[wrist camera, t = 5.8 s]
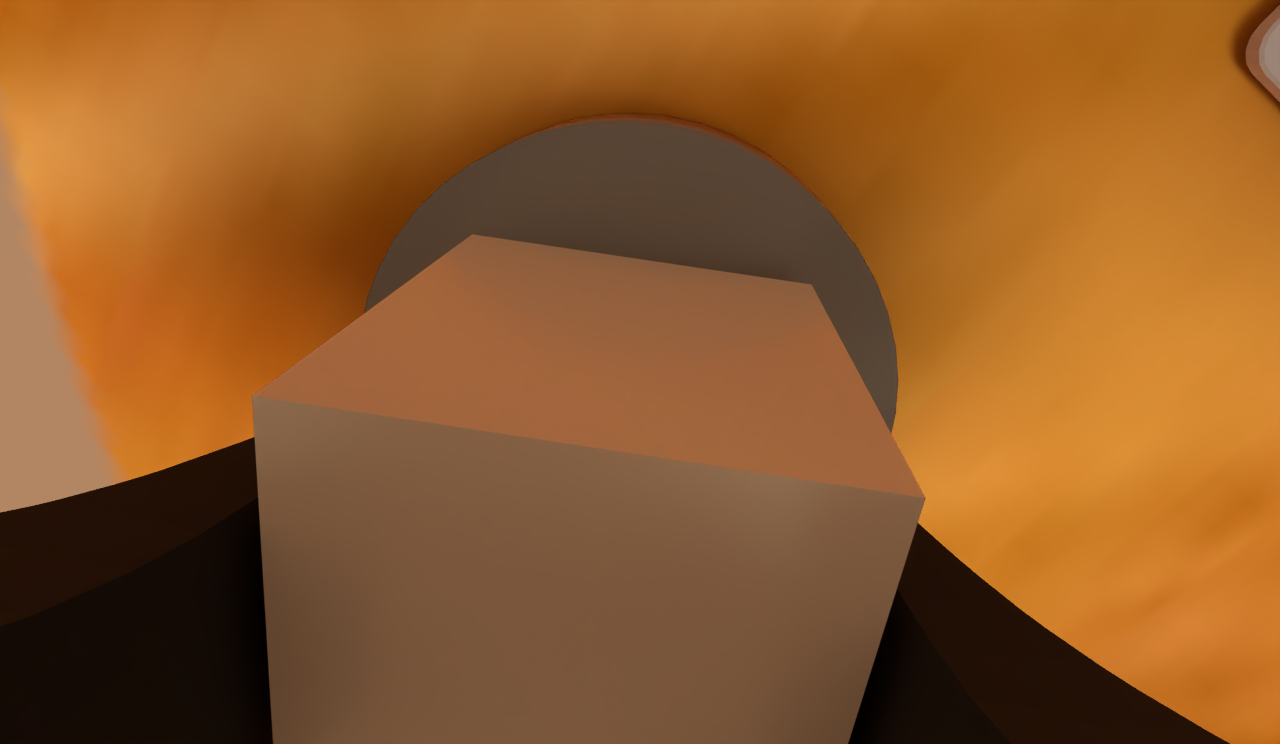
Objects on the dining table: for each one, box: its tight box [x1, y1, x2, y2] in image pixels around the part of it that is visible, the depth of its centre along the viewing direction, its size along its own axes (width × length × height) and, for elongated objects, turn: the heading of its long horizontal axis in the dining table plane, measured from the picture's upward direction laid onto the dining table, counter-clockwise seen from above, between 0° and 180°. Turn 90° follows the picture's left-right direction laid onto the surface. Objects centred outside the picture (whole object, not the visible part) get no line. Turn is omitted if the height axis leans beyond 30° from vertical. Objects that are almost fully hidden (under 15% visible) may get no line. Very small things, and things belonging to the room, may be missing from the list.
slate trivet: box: [364, 113, 898, 432], centre depth 14 cm, size 9×9×2 cm
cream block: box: [252, 234, 925, 744], centre depth 9 cm, size 5×5×6 cm
